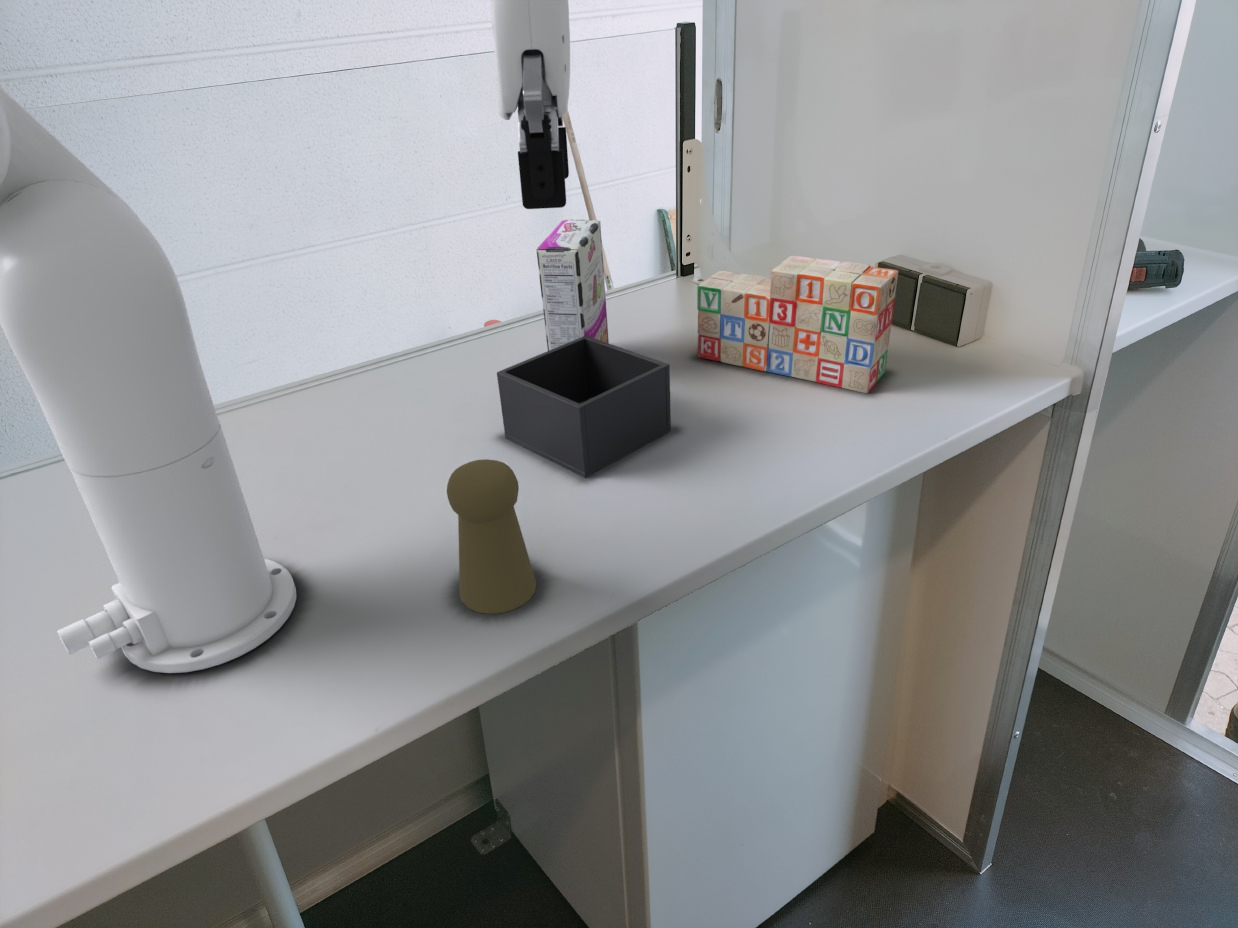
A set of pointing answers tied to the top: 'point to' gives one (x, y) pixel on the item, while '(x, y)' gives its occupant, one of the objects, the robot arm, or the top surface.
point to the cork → (490, 538)
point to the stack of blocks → (801, 320)
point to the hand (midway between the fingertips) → (547, 192)
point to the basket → (585, 403)
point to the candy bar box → (573, 283)
